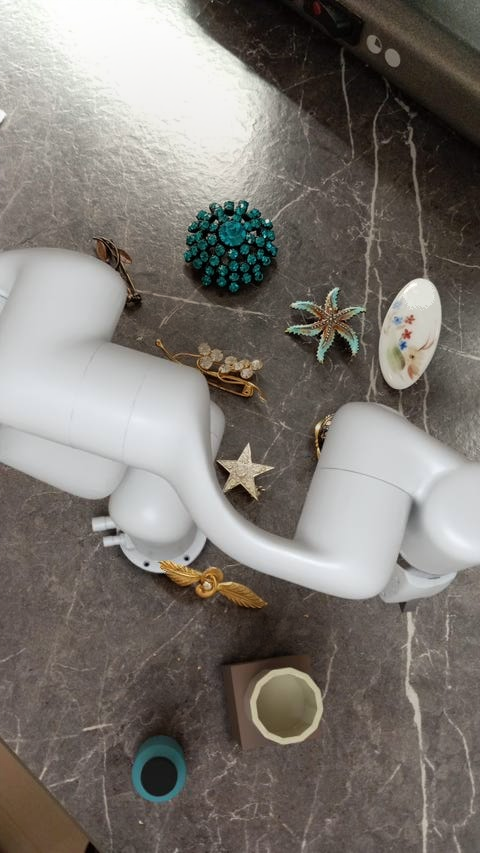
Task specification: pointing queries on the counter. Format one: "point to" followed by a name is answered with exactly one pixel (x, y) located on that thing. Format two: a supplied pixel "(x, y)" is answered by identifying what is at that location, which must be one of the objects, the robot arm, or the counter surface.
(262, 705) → the cream cup
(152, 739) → the beverage bottle
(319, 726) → the stand
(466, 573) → the counter surface
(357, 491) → the robot arm
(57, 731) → the counter surface
